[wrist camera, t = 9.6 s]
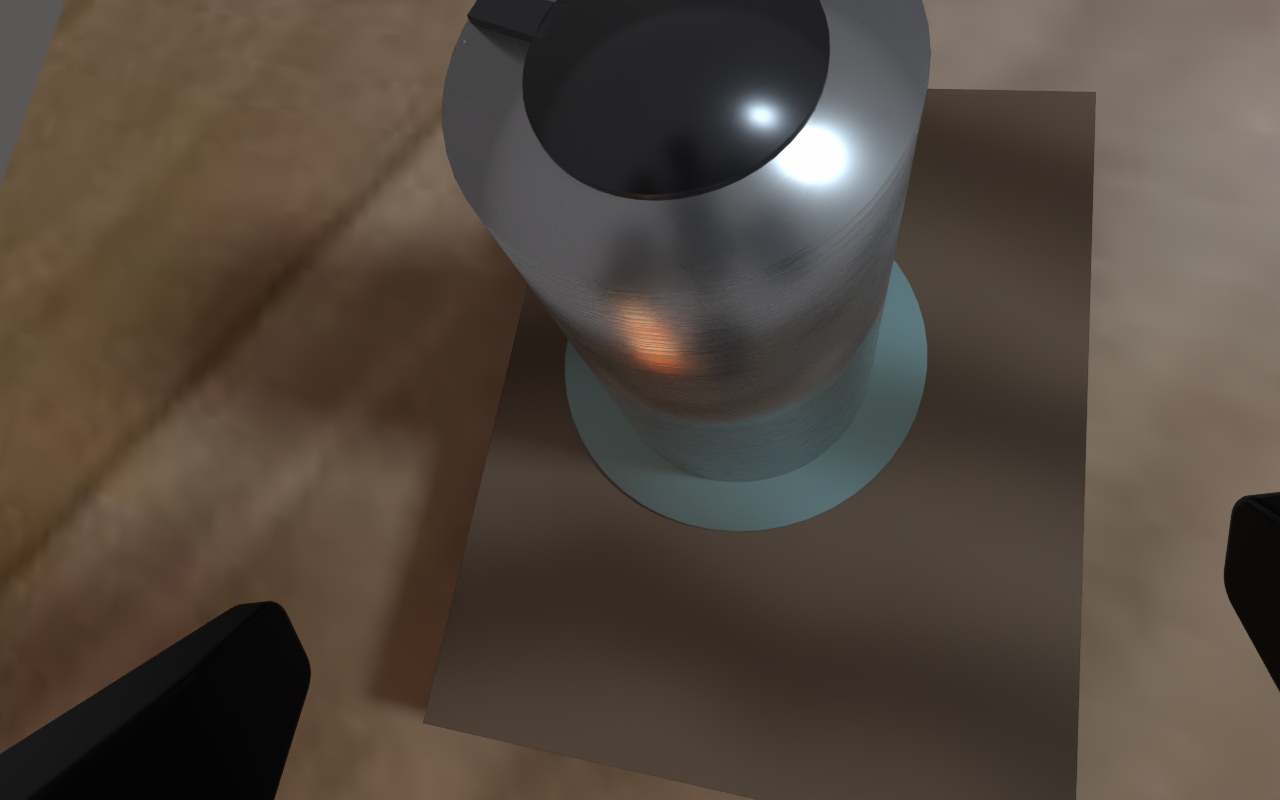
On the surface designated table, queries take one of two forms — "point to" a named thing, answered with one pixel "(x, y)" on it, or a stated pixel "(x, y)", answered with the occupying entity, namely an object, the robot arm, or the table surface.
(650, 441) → the silver metal cylinder
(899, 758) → the walnut board
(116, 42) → the table surface
